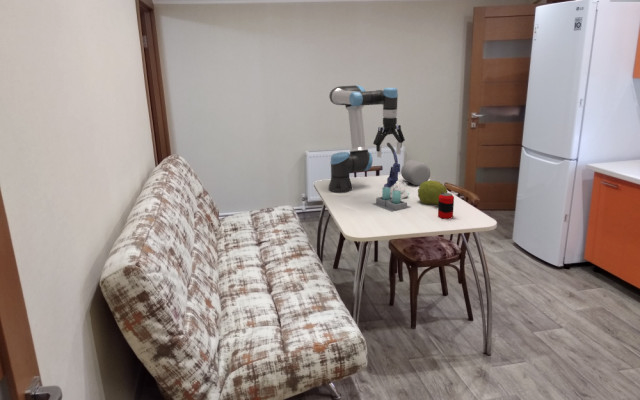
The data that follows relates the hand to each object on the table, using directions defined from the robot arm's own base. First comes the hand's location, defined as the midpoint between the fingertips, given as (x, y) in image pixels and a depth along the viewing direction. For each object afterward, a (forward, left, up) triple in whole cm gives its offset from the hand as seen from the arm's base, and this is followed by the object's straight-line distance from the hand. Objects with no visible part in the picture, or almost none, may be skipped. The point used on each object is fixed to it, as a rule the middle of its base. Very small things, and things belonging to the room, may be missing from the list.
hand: (388, 155), depth 260 cm
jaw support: (-3, +10, -28) cm, 30 cm away
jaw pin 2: (+11, -4, -27) cm, 29 cm away
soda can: (+36, +8, -28) cm, 46 cm away
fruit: (+16, +18, -28) cm, 37 cm away
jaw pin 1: (+3, -4, -27) cm, 27 cm away
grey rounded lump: (-29, +42, -28) cm, 58 cm away
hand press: (-24, +22, -28) cm, 43 cm away
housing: (+7, -4, -28) cm, 29 cm away
